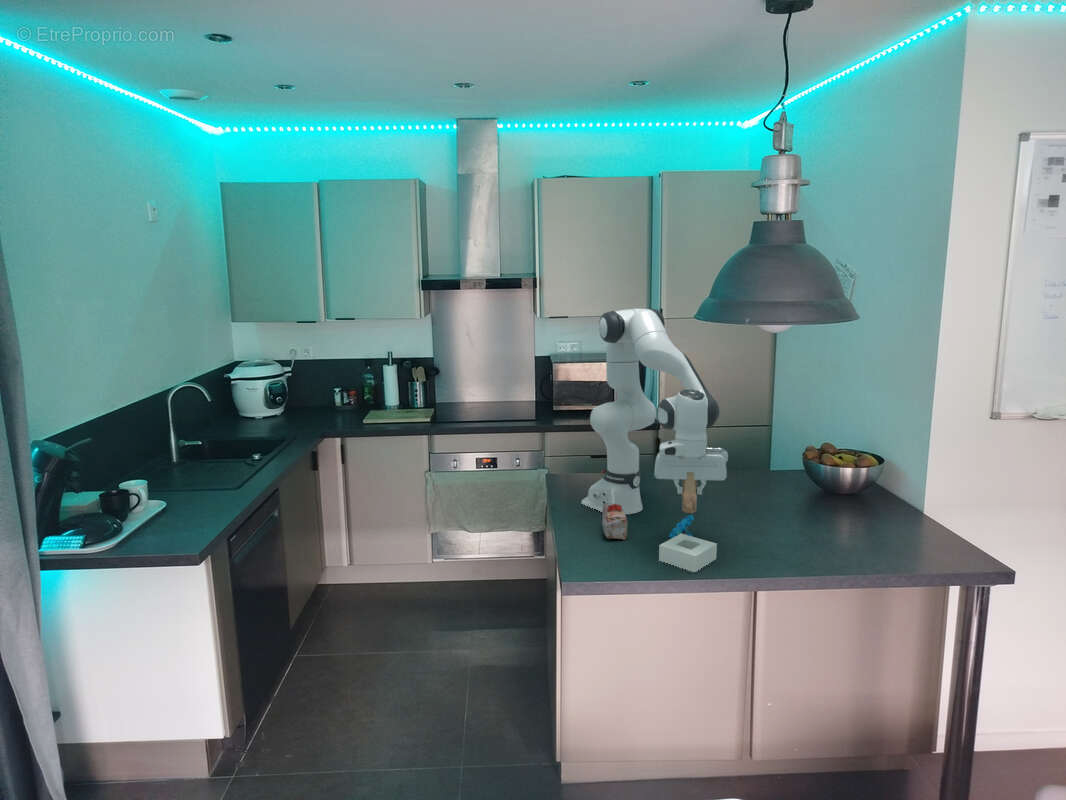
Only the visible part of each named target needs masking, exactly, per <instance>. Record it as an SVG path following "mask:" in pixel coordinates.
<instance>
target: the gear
mask: <svg viewBox="0 0 1066 800" xmlns="http://www.w3.org/2000/svg"><path fill="white" fill-rule="evenodd" d="M694 520H695V519H694V515H693V514H690V515H689V514H688V515H687V516H686V517H685V518H682V519H681V521H680V522H678V523H676V527H673V528H672V529H671V532H670V533H669V534H668V535H669V539H672V538H674V537H676V536H677V535H679V534H685V535H688V536H692V537H694V535H693V534H692V533H690V532H689V530H688V528H687V527H690V526H691V525H692V523H693V521H694Z"/></svg>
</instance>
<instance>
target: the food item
mask: <svg viewBox="0 0 1066 800" xmlns="http://www.w3.org/2000/svg"><path fill="white" fill-rule="evenodd" d="M601 514H602V516H601V517H602V518H601V526H602V530H603V534H604V536H605V537H606V538H607V540H611V539H619V540H618V541H622V540H623V541H625V540H626V539H627V536H628V517H627V514H625V513H624V511H623V509H622V506H621V505H619V504H615V503H609V504H604V505H603V510H602V513H601ZM620 539H622V540H620Z"/></svg>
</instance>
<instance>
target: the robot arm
mask: <svg viewBox="0 0 1066 800" xmlns="http://www.w3.org/2000/svg"><path fill="white" fill-rule="evenodd" d="M665 325H666V322H665V317H664V315H663V314H662V312H661V310H658V309H656V308H651V307H650V308H629V309H628V308H627V309H621V310H610V311H607V312H604V313H603V314H602V315H601V316H600V318H599V321H598V332H599V336H600V338H601V339H602V340H603V341H604V342H606V343H607V345H606V353H605V354H606V357H605V358H606V359H605V360H606V365H605V366H606V382H607V385H608V386H609V387H610V388H611V389H613V390H615V391H616V392H617V395H618V401H611V402H610V401H609V402H605V403H602V404H600V405H598V406H595V407H593V408H592V410H591V412H590V417H589V421H590V425H591V428H592V429H593V430H594V432H595V433H597V434H598V435H599V436H600V437H601V438H602V439H603V440H602V441H604V444H605V447H606V459H607V460H606V462H607V463H606V464H607V467H606V468H605V469H603V470H601V471H600V472H601V473H600V474H601V475H602V474H603V477H602V478H601V479H599V480H598V481H597V482H595V483H594V484H592V485H591V486H590V487H589V489H588V491H587V492H588V493H587V496H586V497H585V498H583V499H582V500H581V502H580V503H581V505H582V504H583V505H582V506H584V505H585V506H584V507H587V506H588V507H587V508H589V507H590V509H592V508H593V509H592V510H594V509H596V510H598V511H597V512H599V511H600V513H601V512H602V510H603V505H604V504H609V503H615V504H619V505H621V506H622V509H623V511H624V513H625V515H632V514H634V515H635V514H637V513H639V512H642V510H643V509H644V508H643V507H644V506H643V503H642V498H641V492H640V483H641V471H640V470H641V469H640V450H639V448H638V446H637V445H636V444H635V443H633V441H630V439H629V436H628V434H629V432H632V431H639V430H642V429H645V428H646V427H649V426H651V425H653V424H654V422H655V420H657V422H658V424H659V425H660V426H661V427H662V428H663V429H664V430H669V431H675V436H674V437H675V438H674V439H670V440H667V441H665V442H661V443H660V444H659V448H658V449H659V451H658V453H657V454H656V458H655V462H654V463H655V464H654V477H655V478H656V479H658V480H673V483H674V485H675V487H676V489H677V493H676V494H677V495H682V494H683V486H680V484H679V483H680V480H682V481H683V480H686V479H687V472H689V473H694V479H695V480H697V481H700V482H701V484H700V485H699V486H697V495H700V496H701V495H703V489H704V487H705V486H706V485H707V481H725V480H726V479H727V476H728V475H727V473H728V471H727V462H728V460H729V454H728V451H727V450H725V449H724V448H722V447H708V435H707V429H711V428H712V427H713V426H714V425H715V424H716V423H717V421H718V419H719V418H720V413H721V412H720V405H719V404H718V402H717V400H716V399H715V398H714V396H713V395H712V394H711V393H710V392H709V390H708V389H707V387H706V386H705V384H704V382H703V380H702V379H701V377H700V375H699V373H698V372H697V371H696V368H695V367H694V365H693V363H692V362H691V360H690V359H689V357H688V355H686V354H685V352H682V351H680V350H679V349H678V348H677V347H676V346H675V345H674V343H673V342H672V341H671V339H670V338H669V334H668V333H667V330H666V328H665V327H666V326H665ZM639 363H641V364H642V365H643V366H644V367H647V368H648V369H650V370H653V371H658V372H663V373H666V374H669V375H670V376H671V375H672V376H674V377H676V378H677V379H678V380H679V381H680V382H681V384H682V386H683V387H684V389H682V390H680V391H679V392H678V393H677V395H674V396H671V397H666V398H663V399H662V400H661V401H660V402H659V404H658V405H657V409H656V406H655V405H654V403H653V401H651V400H650V399H648V397H647V396H646V395H645V393H644V390H643V389H642V385H641V382H640V381H641V379H640V367H639ZM596 510H595V511H596Z"/></svg>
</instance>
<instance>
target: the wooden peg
mask: <svg viewBox="0 0 1066 800" xmlns="http://www.w3.org/2000/svg"><path fill="white" fill-rule="evenodd" d="M682 487H683V494H681V495H682V500H681V501H682V502H681V508H682V509H681V511H682V512H683V513H685V514H694V513H696V512H697V503H698V502H697V497H698V496H697V487H698V480H695V479H694V473H689V472H687V479H686V480H683V479H682Z"/></svg>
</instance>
